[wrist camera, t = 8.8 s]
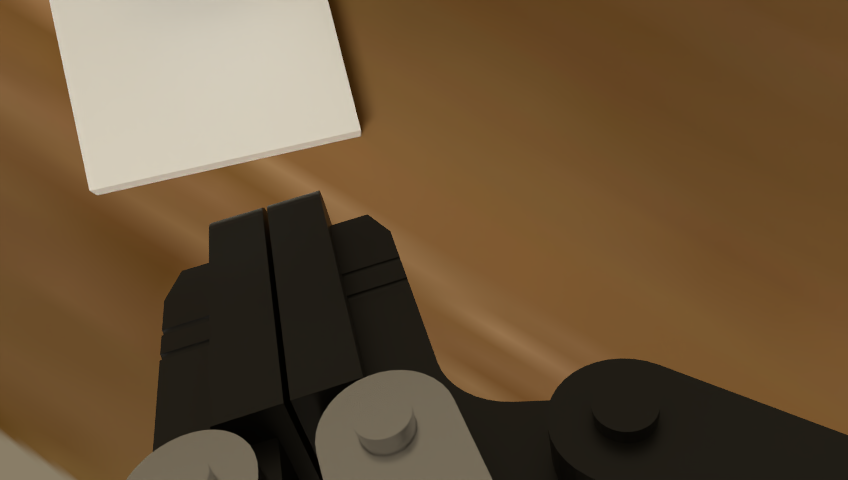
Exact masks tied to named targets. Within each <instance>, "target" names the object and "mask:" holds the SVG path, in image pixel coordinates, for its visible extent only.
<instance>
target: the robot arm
mask: <svg viewBox="0 0 848 480" xmlns="http://www.w3.org/2000/svg"><path fill="white" fill-rule="evenodd" d="M162 331H163V334H164V335H163V336H162V339H161V352H160V355H161V357H162V360H160V365H159V378H158V391H157V405H156V418H155V431H154V444H153V452H152V453H151V454H150V455H149V456H147V457H146V458H145V459H144V460H143V461H142V462H141V463H140V464H139V465H138V466H137V467H136V468H135V469H134V471H133V472H132V473H131V474H130V475H129V477H128V478H127V480H848V435H846V434H843V433H840V432H838V431H835V430H832V429H830V428H827V427H824V426H821V425H819V424H816V423H813V422H811V421H808V420H805V419H803V418H800V417H797V416H795V415H792V414H789V413H787V412H784V411H781V410H779V409H776V408H773V407H771V406H768V405H765V404H762V403H760V402H757V401H754V400H752V399H749V398H746V397H744V396H741V395H738V394H736V393H733V392H730V391H728V390H725V389H722V388H720V387H717V386H714V385H712V384H709V383H706V382H703V381H701V380H698V379H695V378H693V377H690V376H687V375H685V374H682V373H679V372H677V371H674V370H671V369H669V368H666V367H663V366H661V365H658V364H654V363H651V362H648V361H642V360H636V359H610V360H604V361H600V362H595V363H593V364H590V365H587V366H585V367H583V368H581V369H579V370H577V371H575V372H574V373H572V374H571V375H570V376H568V377H567V378H566V379H565V380H564V381H563V382H562V383H561V384H560V385H559V386H558V387H557V389H556V391H555V392H554V394H553V395H552V397H551V400H550V401H526V402H499V401H492V400H486V399H483V398H479V397H476V396H473V395H471V394H469V393H467V392H464V391H463V390H461V389H460V388H458V387H457V386H455V385H454V384H453V383H452V382H451V381H449V380H448V379H447V377H446V376H445V375H444V374H443V372H442V371H441V369H440V367H439V365H438V363H437V360H436V357H435V355H434V352H433V349H432V346H431V343H430V341H429V338H428V335H427V332H426V329H425V327H424V324H423V321H422V318H421V316H420V313H419V310H418V307H417V304H416V302H415V299H414V296H413V293H412V290H411V288H410V285H409V283H408V280H407V277H406V274H405V271H404V268H403V265H402V263H401V260H400V257H399V254H398V252H397V249H396V246H395V243H394V240H393V238H392V235H391V232H390V231H389V230H388V229H386V228H385V227H384V226H382V225H381V224H380V223H378V222H377V221H376V220H374V219H373V218H372V217H370V216H369V215H364V216H361V217H358V218H354V219H351V220H348V221H345V222H341V223H338V224H335V225H332V224H331V221H330V218H329V215H328V212H327V209H326V206H325V203H324V201H323V198H322V195H321V193H320V191H316V192H313V193H310V194H306V195H303V196H300V197H296V198H293V199H290V200H286V201H283V202H280V203H276V204H273V205H270V206H268V207H267V211H266V210H265V208H260V209H257V210H254V211H250V212H247V213H244V214H240V215H237V216H234V217H230V218H227V219H224V220H220V221H217V222H214V223H211V224H210V226H209V263H207V264H204V265H200V266H197V267H194V268H190V269H187V270H184V271H182V272H181V273H180V275H179V277H178V279H177V280H176V282H175V284H174V285H173V287H172V289H171V290H170V292H169V294H168V295H167V297H166V299H165V301H164V312H163V325H162Z"/></svg>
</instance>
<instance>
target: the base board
mask: <svg viewBox="0 0 848 480" xmlns="http://www.w3.org/2000/svg"><path fill="white" fill-rule="evenodd" d="M49 1H50V6H51V10H52V15H53V20H54V25H55V29H56V34H57V39H58V44H59V48H60V53H61V58H62V62H63V67H64V72H65V77H66V81H67V86H68V91H69V96H70V100H71V105H72V110H73V114H74V119H75V124H76V129H77V133H78V138H79V143H80V148H81V152H82V157H83V162H84V166H85V171H86V176H87V181H88V185H89V190H90V191H91V192H93V193H95V194H96V195H101V194H105V193H110V192H114V191H118V190H123V189H127V188H132V187H136V186H141V185H145V184H150V183H154V182H159V181H163V180H168V179H172V178H176V177H181V176H185V175H190V174H194V173H199V172H203V171H208V170H212V169H217V168H221V167H226V166H230V165H234V164H239V163H243V162H248V161H252V160H257V159H261V158H266V157H270V156H275V155H279V154H284V153H288V152H292V151H297V150H301V149H306V148H310V147H315V146H319V145H324V144H328V143H333V142H337V141H342V140H346V139H350V138H355V137H359V136H361V129H360V125H359V121H358V117H357V113H356V109H355V105H354V101H353V97H352V93H351V89H350V85H349V81H348V77H347V74H346V70H345V66H344V62H343V58H342V54H341V50H340V46H339V42H338V38H337V34H336V30H335V26H334V22H333V19H332V15H331V11H330V7H329V3H328V0H49Z"/></svg>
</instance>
